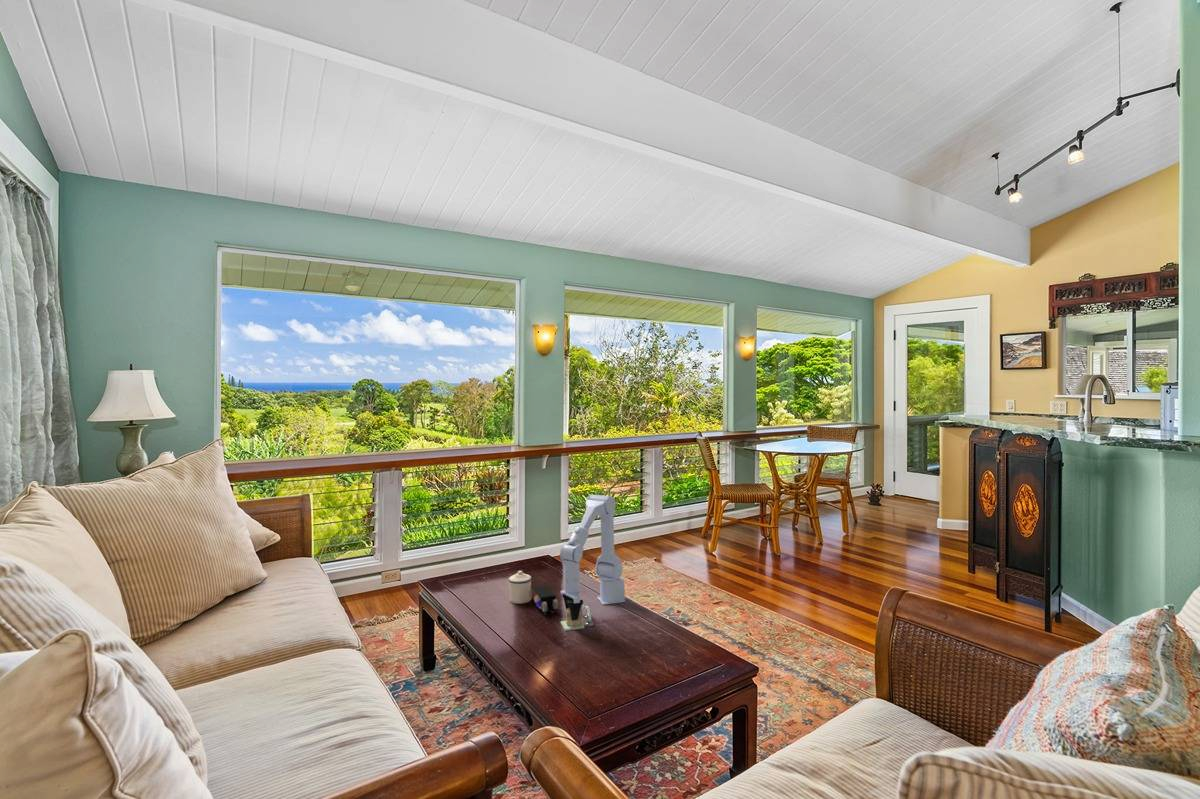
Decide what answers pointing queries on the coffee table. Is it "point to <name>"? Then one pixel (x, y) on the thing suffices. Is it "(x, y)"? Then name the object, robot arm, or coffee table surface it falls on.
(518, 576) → the teacup with lid
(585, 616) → the grey piece
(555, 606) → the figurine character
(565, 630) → the pad
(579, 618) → the maple ring
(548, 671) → the coffee table surface
